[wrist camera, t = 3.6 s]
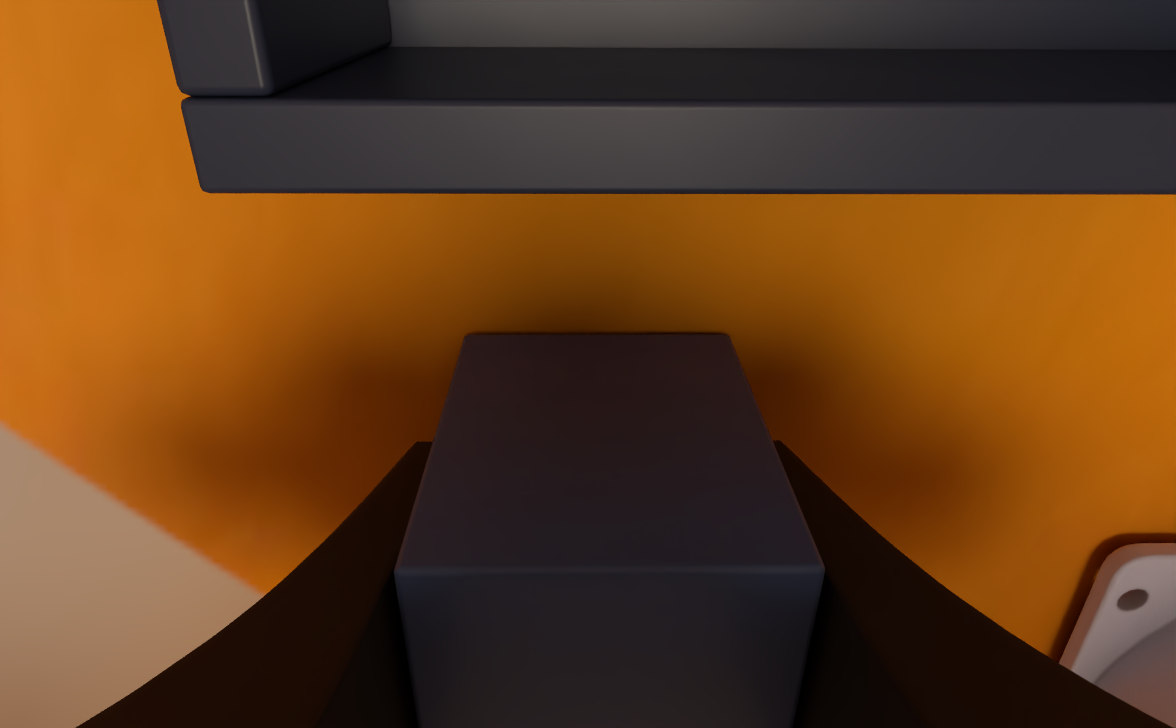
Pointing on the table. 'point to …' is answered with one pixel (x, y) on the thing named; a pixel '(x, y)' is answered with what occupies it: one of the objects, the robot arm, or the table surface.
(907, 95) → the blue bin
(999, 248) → the table surface
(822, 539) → the robot arm
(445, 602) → the blue block
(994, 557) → the table surface
